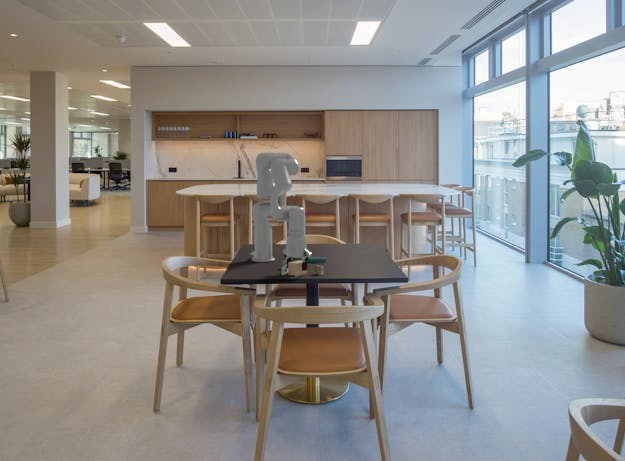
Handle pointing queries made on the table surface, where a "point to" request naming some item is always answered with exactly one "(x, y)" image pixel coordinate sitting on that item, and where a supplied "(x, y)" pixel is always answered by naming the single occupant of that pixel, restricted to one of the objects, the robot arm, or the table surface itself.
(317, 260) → the bracket
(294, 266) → the block
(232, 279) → the table surface
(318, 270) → the oak fence
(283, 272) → the sage gate
